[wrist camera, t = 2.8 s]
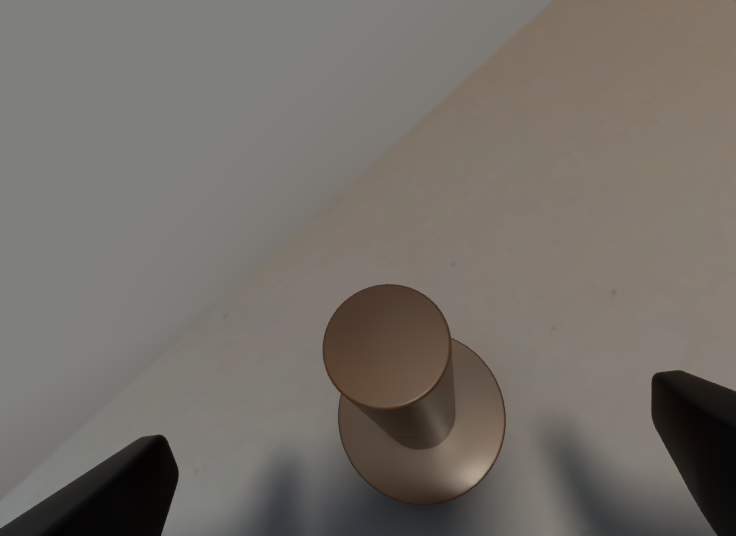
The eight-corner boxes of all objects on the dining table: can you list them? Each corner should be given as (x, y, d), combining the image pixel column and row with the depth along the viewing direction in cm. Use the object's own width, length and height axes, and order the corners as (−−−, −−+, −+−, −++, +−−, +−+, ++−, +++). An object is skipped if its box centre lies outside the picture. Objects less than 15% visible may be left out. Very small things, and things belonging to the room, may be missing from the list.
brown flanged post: (532, 466, 16) (614, 434, 7) (378, 530, 16) (284, 572, 7) (460, 321, 18) (459, 174, 10) (327, 376, 18) (214, 275, 10)
